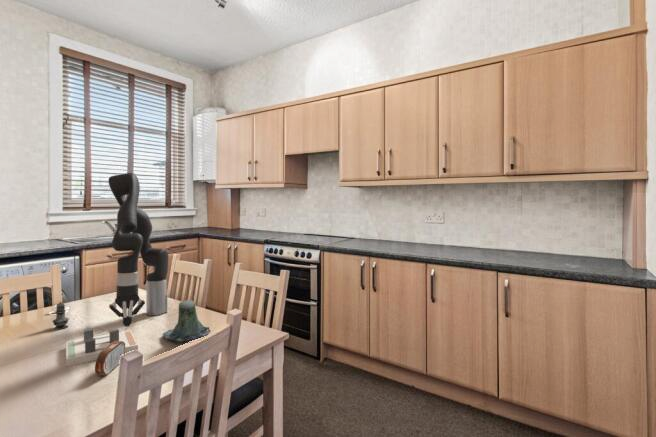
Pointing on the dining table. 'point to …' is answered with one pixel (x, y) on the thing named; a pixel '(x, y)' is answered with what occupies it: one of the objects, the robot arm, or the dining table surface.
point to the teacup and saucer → (56, 310)
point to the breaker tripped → (114, 335)
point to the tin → (109, 358)
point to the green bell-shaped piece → (186, 325)
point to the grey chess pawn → (60, 317)
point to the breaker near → (89, 345)
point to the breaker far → (88, 334)
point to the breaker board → (96, 347)
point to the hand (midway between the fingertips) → (127, 325)
